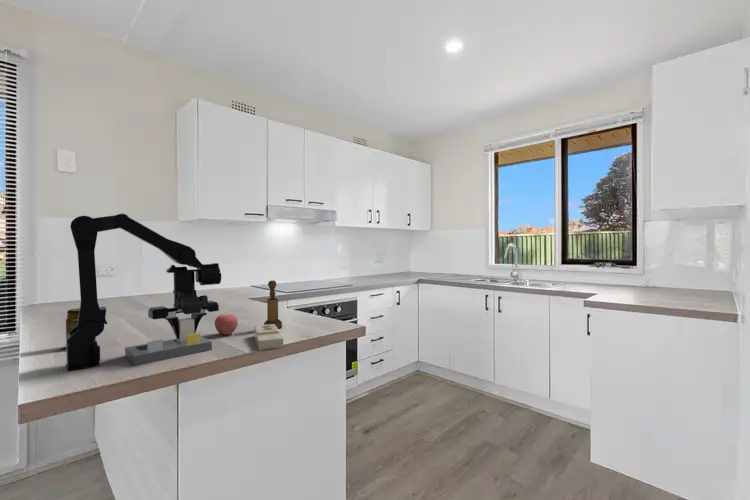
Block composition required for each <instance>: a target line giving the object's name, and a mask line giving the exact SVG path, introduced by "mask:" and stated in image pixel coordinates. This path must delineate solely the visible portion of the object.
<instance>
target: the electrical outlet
mask: <svg viewBox="0 0 750 500" xmlns="http://www.w3.org/2000/svg"><path fill="white" fill-rule="evenodd" d="M253 338H254V341H255V343H256V346H257V348H258V351H263V350H271V349H280V348H284V338H283V336H282V334H281V333H280V329H278V328H277V327H276V325H275V324H268V325H264V324H257V325H254V326H253Z"/></svg>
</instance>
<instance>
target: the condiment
mask: <svg viewBox="0 0 750 500" xmlns="http://www.w3.org/2000/svg"><path fill="white" fill-rule="evenodd" d="M79 310H80V307H79V308H78V307H77V308H72V309H68V310H67V312H66V313H67V315H66V316H67V318H66V319H65V335H66V337H65V339H66V344H68V342H67V337H68V334H69V333H70V332H71V331H72V330H73V329H74V328H75V327H76V326H77V322H78V316H79ZM66 344H65V345H66ZM54 352H66V346H64V347H61V348H57V349H55V350H54Z"/></svg>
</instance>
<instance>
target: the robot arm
mask: <svg viewBox="0 0 750 500" xmlns="http://www.w3.org/2000/svg"><path fill="white" fill-rule="evenodd" d="M117 229H121V230H123V231H125V232H127V233H129V234H130V235H132V236H134V237H135V238H137V239H139V240H141V241H143V242H144V243H147V244H149V245H151V246H152V247H154V248H155V249H156V248H157V249H158V250H159V251H161V252H162V253H163V254H164V255H165V256H166V257H168V258H169V259H171V260H172V261H173V262H174V263H175V264H179V265H182V266H176V265H174V264H171V265H170V266H169V267H168V268H167V269H166V270H165V272H166V273H167V274H173V290H172V293H173V302H174V303H173V307H166V306H164V305H161V306H151V307H149V309H148V310H147V312H148V313H147V315H148V318H149V319H151V320H161V319H164V320H166V321H167V323H169V325H170V327H171V328H172V331H173V333H174V335H175V339H176V338H177V339H179V328H178V319H179V317H178V316H177V314H184V315H191V316H190V318H192V319H194V330H195V333H197V330H198V329H197V328H198V326H199V323H200V321H201V320H202V318H203V317H204V316H207V314H208V313H207V312H209V313H213V312H218V311H220V306H219V305H220V304H219V302H217V301H213V300H209V299H208V298H209V297H208V296H207V294H206V295H204V294H203V295H200V296H198V295H197V290H196V288H195V286H196V284H195V282H196V283H198V284H199V286H213V285H220V284H221V281H222V273H221V269H220V264H219V263H216V262H214V263H213V262H212V263H207V264H206V263H205V264H204V263H202V262H201V261H200V260H199V259H198V257H197V255H196V251H195V249H194V248H193V247H191V246H189V245H186V244H183V243H181V242H178V241H174V240H171V239H169V238H167V237H165V236H164V235H161V234H159V233H158V232H157V231H154V230H152V229H151V228H149V227H147V226H146V225H144V224H142V223H140V222H139V221H137V220H135V219H134V218H132V217H130V216H129V215H128V214H125V213H118V214H116V215H108V216H99V217H94V218H93V217H91V216H88V215H80V216H77V217H75V218H73V220H72V221H71V223H70V231H71V234H72V237H73V241H74V244H75V248H76V251H77V260H78V261H77V262H78V264H77V265H78V277H79V279H78V280H79V293H80V294H79V295H80V305H79V308H80V310H79V316H78V322H77V326H76V327H75V328H74V329H73V330H72V331H71V332H70V333H69V334H68V337H67V342H68V344H65V347H66V351H65V353H66V363H65V368H66V369H67V371H68V372H69V371H71V372H72V371H75V370H81V369H86V368H90V367H96V366H99V365H100V362H101V346H100V345H99V344H98V340H97V339H96V338H97V337H98V336H100V335H101V334H102V333H103V332H104V330H105V325H107V324H108V321H107V319H106V314H107V308H106V306H104V305H103V306H100V305H99V300H98V286H97V271H96V270H97V269H96V258H95V254H96V253H95V250H96V249H95V248H96V243H97V238H98V233H100V232H105V231H111V230H117ZM187 266H188V267H189V268H191V269H188V267H187ZM193 268H194V269H193ZM206 311H207V312H206Z"/></svg>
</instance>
